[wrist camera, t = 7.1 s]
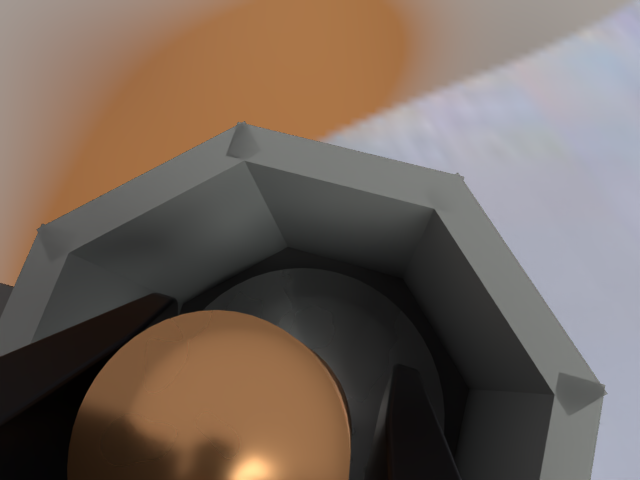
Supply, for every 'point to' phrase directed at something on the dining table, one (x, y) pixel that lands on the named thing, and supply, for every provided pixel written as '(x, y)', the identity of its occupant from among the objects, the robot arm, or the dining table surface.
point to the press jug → (341, 257)
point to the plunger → (252, 386)
